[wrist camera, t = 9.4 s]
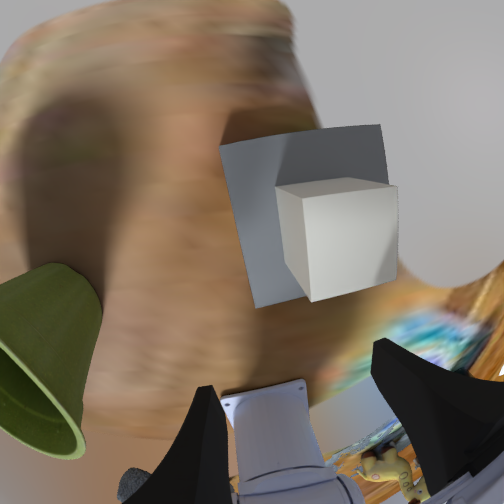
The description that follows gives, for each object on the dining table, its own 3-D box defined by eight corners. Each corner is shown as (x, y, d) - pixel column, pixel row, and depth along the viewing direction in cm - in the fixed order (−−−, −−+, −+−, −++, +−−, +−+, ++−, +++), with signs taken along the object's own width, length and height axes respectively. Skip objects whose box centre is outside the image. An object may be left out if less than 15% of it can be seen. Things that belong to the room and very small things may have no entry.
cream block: (352, 248, 17) (396, 279, 12) (284, 262, 16) (311, 302, 12) (347, 177, 15) (397, 186, 10) (274, 186, 15) (302, 198, 10)
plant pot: (1, 286, 17) (-69, 351, 6) (59, 200, 16) (-57, 250, 5) (82, 376, 21) (45, 466, 10) (160, 321, 19) (128, 447, 9)
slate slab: (372, 256, 20) (392, 270, 18) (250, 287, 20) (255, 308, 17) (358, 128, 17) (380, 124, 14) (218, 149, 17) (218, 145, 14)
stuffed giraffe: (424, 431, 34) (457, 490, 19) (342, 478, 36) (361, 539, 21) (409, 402, 29) (457, 481, 14) (304, 460, 32) (323, 544, 17)
